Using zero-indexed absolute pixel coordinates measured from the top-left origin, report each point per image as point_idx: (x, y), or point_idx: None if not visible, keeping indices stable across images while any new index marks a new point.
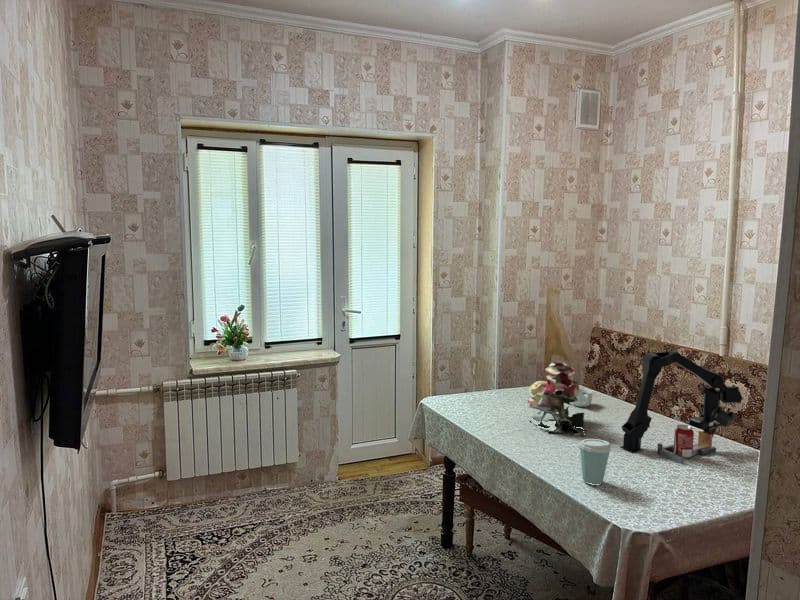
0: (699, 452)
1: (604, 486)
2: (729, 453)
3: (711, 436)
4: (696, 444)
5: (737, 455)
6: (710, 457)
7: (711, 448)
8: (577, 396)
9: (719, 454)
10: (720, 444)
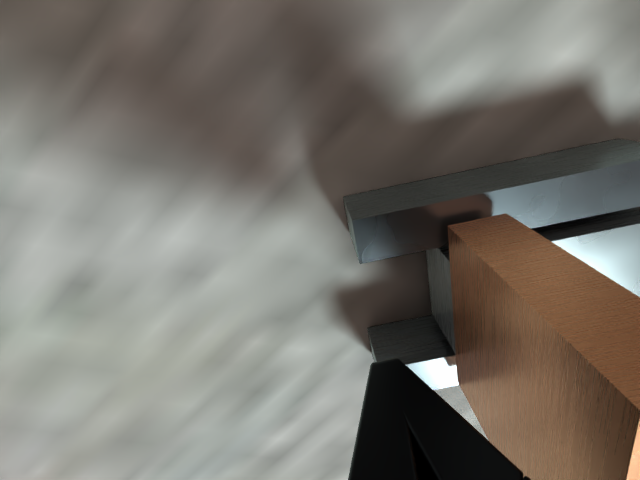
0: None
1: None
2: (177, 117)
3: (627, 350)
4: None
5: (99, 5)
6: (582, 48)
7: (464, 201)
8: None
9: (354, 120)
10: (96, 387)
